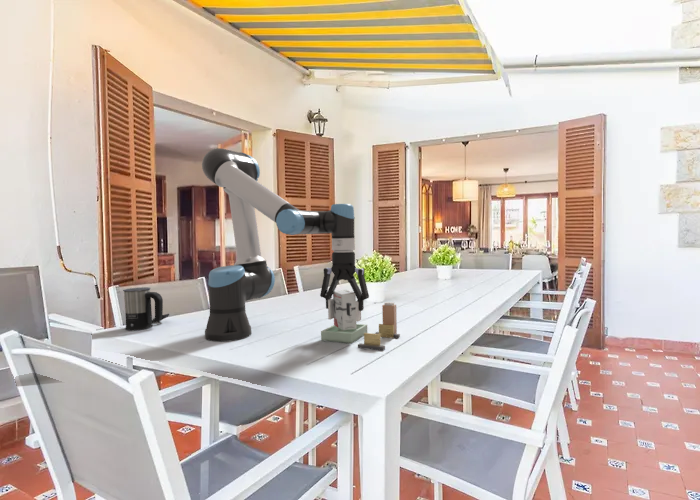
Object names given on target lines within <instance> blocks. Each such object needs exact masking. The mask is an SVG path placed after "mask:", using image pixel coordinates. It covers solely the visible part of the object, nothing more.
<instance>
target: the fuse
mask: <svg viewBox="0 0 700 500" xmlns="http://www.w3.org/2000/svg"><path fill="white" fill-rule="evenodd" d="M381 307H382V308H381V309H382V311H381V313H382V324H387V325H394V334H398V331H397V328H398V326H397V322H398V321H397V304H395V302H393V301H392V302H391V301H385V302H384V304H383V305H382V306H381Z"/></svg>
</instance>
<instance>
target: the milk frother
mask: <svg viewBox="0 0 700 500" xmlns="http://www.w3.org/2000/svg"><path fill="white" fill-rule="evenodd" d="M123 294H124V296H123V298H124V310H125V313H124V314H125V329H124V330H125V331H132V330H134V331H140V330H147V329H151V328H153V324H156V323H160V322H161V321H162V320H164V319H166V318H168V317H169V316H170V314H169V313H167V314H166V313H165V314H163V313H164V312H163V309H164V305H163V303H164V301H163V297H162V295H161V294H160V293H159V292H157V291H156V292H155V291H151V287H146V286H145V287H143V286H142V287H131V288H126V289H123ZM152 299H153V300H154V301H153V302H154V317H153V315H152V314H153V313H152Z"/></svg>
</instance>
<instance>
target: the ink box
mask: <svg viewBox="0 0 700 500" xmlns="http://www.w3.org/2000/svg"><path fill="white" fill-rule="evenodd" d="M332 299H333V306H334V318H333V325H335V326H336V327H338V328H340V329H342V330H350V329H356V324H357V321H356V301H357V297H356V295H355V293H354V291H353V290H352V291H351V290H348V289H340V290H335V291H334V292H333V295H332Z"/></svg>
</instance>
